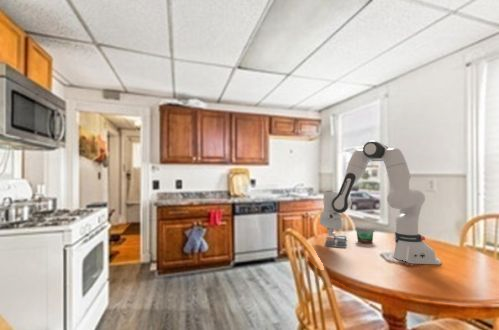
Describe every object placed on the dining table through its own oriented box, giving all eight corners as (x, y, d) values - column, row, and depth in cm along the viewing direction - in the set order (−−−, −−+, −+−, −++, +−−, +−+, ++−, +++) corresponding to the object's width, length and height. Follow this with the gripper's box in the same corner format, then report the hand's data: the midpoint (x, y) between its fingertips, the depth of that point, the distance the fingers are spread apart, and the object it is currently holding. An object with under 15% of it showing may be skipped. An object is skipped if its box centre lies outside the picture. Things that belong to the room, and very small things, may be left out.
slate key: (345, 241, 181) (345, 237, 181) (345, 242, 177) (345, 238, 177) (338, 240, 182) (338, 236, 182) (337, 242, 178) (337, 238, 178)
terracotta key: (334, 240, 183) (334, 236, 183) (333, 241, 179) (333, 237, 179) (327, 239, 185) (327, 235, 185) (326, 241, 180) (326, 237, 180)
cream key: (334, 235, 196) (334, 231, 196) (334, 236, 192) (334, 233, 192) (328, 235, 198) (328, 231, 198) (328, 236, 194) (328, 232, 194)
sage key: (345, 238, 194) (345, 234, 194) (345, 239, 190) (345, 236, 190) (338, 237, 195) (338, 234, 196) (338, 239, 191) (338, 235, 191)
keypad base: (346, 238, 198) (346, 235, 198) (346, 248, 172) (346, 244, 172) (327, 236, 203) (327, 233, 203) (325, 246, 176) (325, 243, 176)
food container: (356, 243, 183) (356, 228, 184) (355, 241, 189) (355, 227, 190) (376, 244, 180) (375, 229, 180) (374, 242, 186) (374, 227, 186)
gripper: (317, 211, 191) (317, 231, 191) (335, 216, 172) (335, 238, 172) (325, 211, 193) (325, 230, 193) (343, 216, 174) (343, 237, 174)
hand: (330, 234), depth 182 cm, fingers closed
